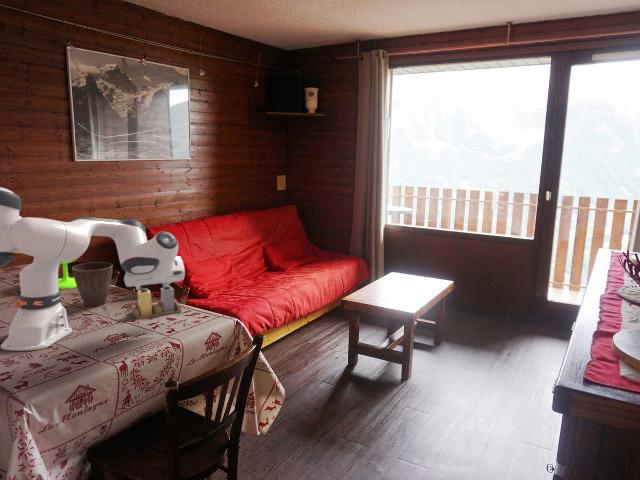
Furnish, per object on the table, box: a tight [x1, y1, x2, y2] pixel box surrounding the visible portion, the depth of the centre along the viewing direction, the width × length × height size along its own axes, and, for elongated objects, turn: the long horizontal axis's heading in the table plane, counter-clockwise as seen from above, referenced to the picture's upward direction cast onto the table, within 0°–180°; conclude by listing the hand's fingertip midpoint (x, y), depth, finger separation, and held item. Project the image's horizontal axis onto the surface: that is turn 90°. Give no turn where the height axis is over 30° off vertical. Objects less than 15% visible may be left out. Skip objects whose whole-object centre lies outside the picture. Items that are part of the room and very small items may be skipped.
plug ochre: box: [137, 287, 152, 316], centre depth 179 cm, size 4×4×10 cm
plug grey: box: [160, 284, 175, 312], centre depth 183 cm, size 4×4×10 cm
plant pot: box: [71, 261, 114, 308], centre depth 192 cm, size 15×15×16 cm
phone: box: [110, 295, 138, 304], centre depth 197 cm, size 8×1×15 cm
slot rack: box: [131, 298, 182, 320], centre depth 182 cm, size 9×16×4 cm, turn 123°
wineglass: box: [58, 259, 77, 290], centre depth 217 cm, size 16×16×18 cm
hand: (151, 286), depth 172 cm, fingers open, 8 cm apart
